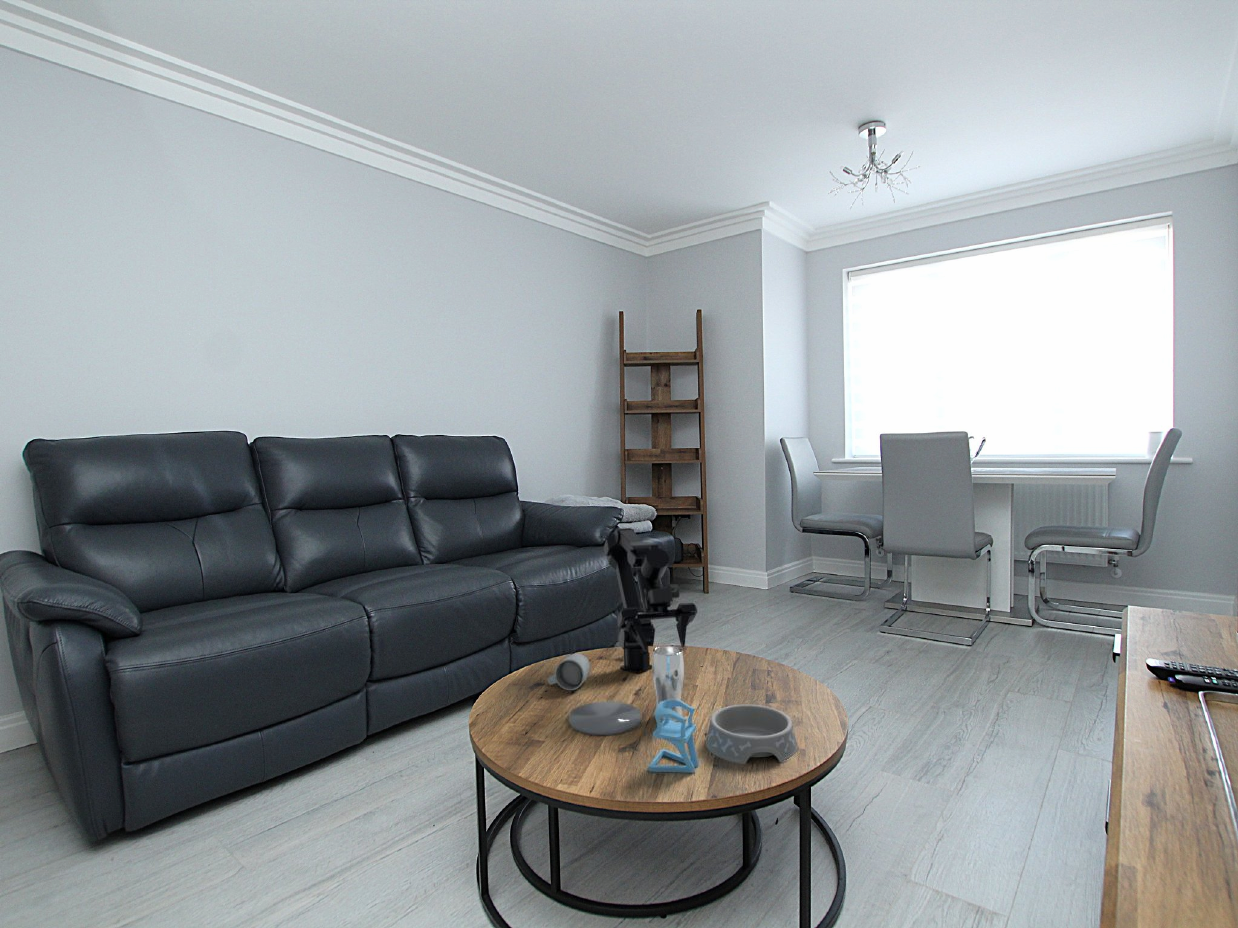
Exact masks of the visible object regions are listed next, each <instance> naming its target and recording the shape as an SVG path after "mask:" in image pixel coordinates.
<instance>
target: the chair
mask: <svg viewBox="0 0 1238 928" xmlns="http://www.w3.org/2000/svg"><path fill="white" fill-rule="evenodd" d="M675 706H679V707H681V709H684V710H686V711H687V712H688V713H689V715H688V718H686V717H682V716H680V715H679V714H678V713H676V712H675V711H673V710H670V709H669V708H672V707H675ZM695 710H696V708H695V707H692V706H690V705H689V704H687V703H685V702H684V701H682V700H681V701H678V700H665V701H662V702H660V703H659V704H658V706H657V705H656V708H655V710H654V718H655V721H656V726H657V727H656V729H654V731H653V732H652V738H654V739H658V740H659V739H661V740H664V741H666V742H669V743H671V744H672V745H673V746H674V747H675V748H676V749H677V751H678V753H679V754H678V753H677V752H673V751H671V750H667V749H663V748H662V749H661V750H659V752H658V754H656V756H655V757H654V758H653V760H652V761H651V762H650V763H649V764H648V766H647V767H648V771H649V772H652V773H654V772H655V773H683V774H684V773H686V774H687V773H689V774H695V773H696V770H695V768H699V767H700V765H699V760H698V759H699V758H698V755H697V751H696V745H695V741H694V733H695V731H696V730H697V724H694V723H693V717H694V712H695ZM661 718H665V720H664V721H663V722H661V721H660V720H659V719H661ZM669 718H673V719H676V720H677V722H674V721H669ZM685 745H687V748H688V749H686V746H685ZM687 750H688V751H687ZM662 757H668V758H670V759H672V760H675V761H677V762H679V763H683V764H685V765H683V764H681V765H680V764H679V765H677V764H676V765H675V764H674V765H671V764H670V765H667V764H666V765H658V763H659V761H660V760H661V759H662Z"/></svg>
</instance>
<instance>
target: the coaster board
mask: <svg viewBox="0 0 1238 928" xmlns="http://www.w3.org/2000/svg"><path fill="white" fill-rule="evenodd" d="M568 723H569V726H570V727H571V728H572V729H573V730H575V731H577V732H580V733H583V734H587V735H591V736H592V735H594V736H612V735H620V734H623V733H628V732H630V731H632V730H634V729H636V728H637V727H638V726H640V725H641V723H642V712H641V710H640V709H639V708H638V707H636V706H635V705H632V704H629V703H625V702H620V701H609V700H608V701H606V700H605V701H595V702H590V703H585V704H582V705H580V706H578V707H576V708H574V709H573V710H572V711H570V713H569V715H568Z"/></svg>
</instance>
